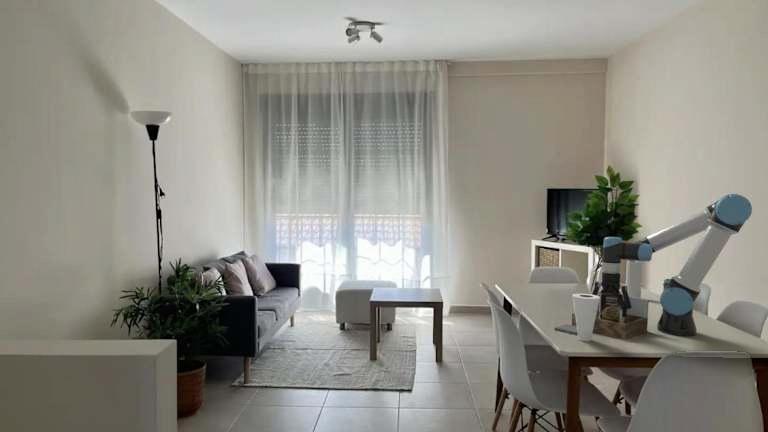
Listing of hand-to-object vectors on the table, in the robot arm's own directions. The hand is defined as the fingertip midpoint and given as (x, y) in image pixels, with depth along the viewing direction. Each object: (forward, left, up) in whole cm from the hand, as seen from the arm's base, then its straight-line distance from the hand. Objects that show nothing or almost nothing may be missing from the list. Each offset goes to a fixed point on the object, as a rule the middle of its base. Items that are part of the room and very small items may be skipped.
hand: (609, 321), depth 237 cm
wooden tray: (0, 0, -3) cm, 3 cm away
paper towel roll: (+28, -81, -4) cm, 86 cm away
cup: (-2, +25, -4) cm, 25 cm away
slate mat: (+9, +16, -3) cm, 19 cm away
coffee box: (0, 0, -4) cm, 4 cm away
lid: (0, -10, +3) cm, 10 cm away
